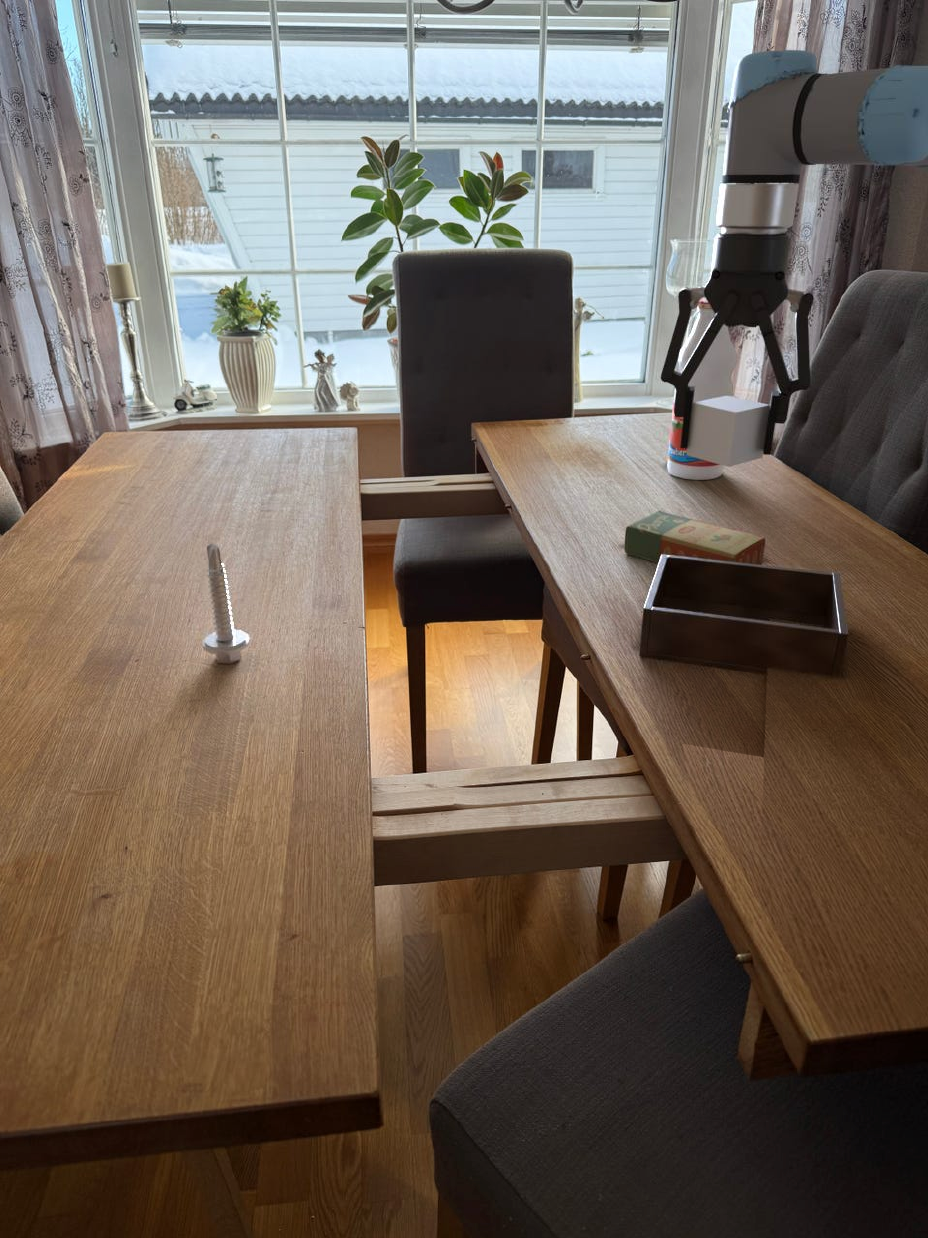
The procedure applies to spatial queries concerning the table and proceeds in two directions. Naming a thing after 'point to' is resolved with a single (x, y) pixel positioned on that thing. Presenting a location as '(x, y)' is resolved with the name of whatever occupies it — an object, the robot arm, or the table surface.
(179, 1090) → the table surface
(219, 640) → the screw
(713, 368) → the fruit juice
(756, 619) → the box
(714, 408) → the white cube
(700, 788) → the table surface
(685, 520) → the carton
